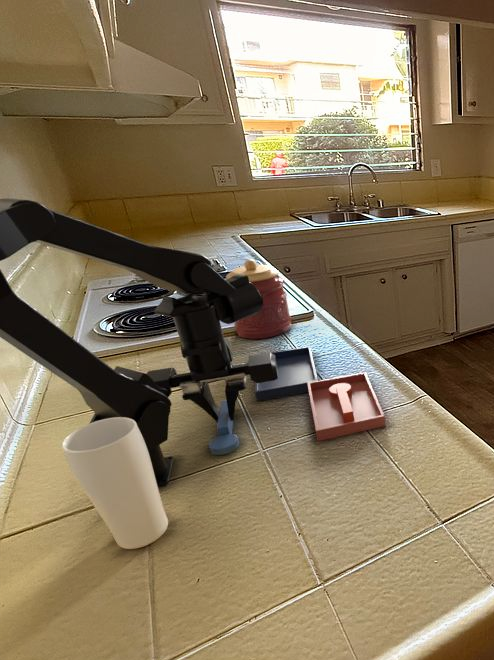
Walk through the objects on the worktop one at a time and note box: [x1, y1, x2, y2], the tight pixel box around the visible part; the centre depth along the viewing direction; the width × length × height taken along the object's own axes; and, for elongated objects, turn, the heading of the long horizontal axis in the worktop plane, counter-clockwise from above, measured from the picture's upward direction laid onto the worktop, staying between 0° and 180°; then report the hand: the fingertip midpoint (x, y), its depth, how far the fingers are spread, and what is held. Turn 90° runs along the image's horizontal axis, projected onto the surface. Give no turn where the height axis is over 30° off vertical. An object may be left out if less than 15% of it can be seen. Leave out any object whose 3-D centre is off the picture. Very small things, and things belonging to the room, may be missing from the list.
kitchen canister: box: [225, 258, 292, 340], centre depth 111 cm, size 13×13×18 cm
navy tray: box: [254, 346, 319, 402], centre depth 93 cm, size 17×11×2 cm, turn 23°
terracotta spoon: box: [329, 383, 354, 423], centre depth 82 cm, size 13×4×2 cm, turn 23°
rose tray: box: [307, 371, 387, 442], centre depth 82 cm, size 17×11×2 cm, turn 23°
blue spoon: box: [208, 400, 240, 456], centre depth 75 cm, size 13×4×2 cm, turn 23°
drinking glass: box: [60, 417, 169, 550], centre depth 53 cm, size 7×7×15 cm
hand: (226, 420), depth 77 cm, fingers closed on blue spoon, 2 cm apart
